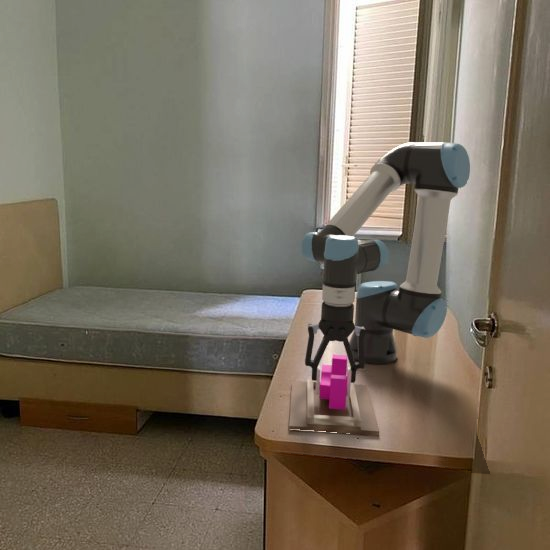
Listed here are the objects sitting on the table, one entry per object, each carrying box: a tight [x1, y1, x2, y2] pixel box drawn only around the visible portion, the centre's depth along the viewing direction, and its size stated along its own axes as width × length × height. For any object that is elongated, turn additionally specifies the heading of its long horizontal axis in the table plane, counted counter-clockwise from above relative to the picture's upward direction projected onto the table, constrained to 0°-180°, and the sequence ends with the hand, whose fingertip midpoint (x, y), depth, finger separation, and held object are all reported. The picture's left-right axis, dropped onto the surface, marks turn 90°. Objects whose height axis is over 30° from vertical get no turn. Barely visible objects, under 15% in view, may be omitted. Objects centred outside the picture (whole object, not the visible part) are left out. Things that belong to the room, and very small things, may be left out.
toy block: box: [319, 354, 348, 410], centre depth 130 cm, size 15×6×8 cm, turn 172°
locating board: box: [288, 378, 380, 436], centre depth 131 cm, size 20×24×3 cm
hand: (332, 393), depth 130 cm, fingers open, 7 cm apart
